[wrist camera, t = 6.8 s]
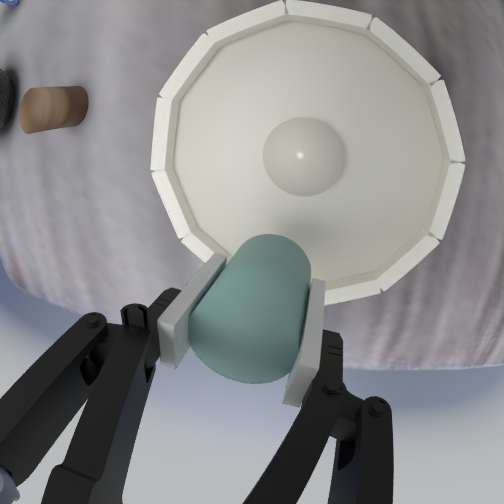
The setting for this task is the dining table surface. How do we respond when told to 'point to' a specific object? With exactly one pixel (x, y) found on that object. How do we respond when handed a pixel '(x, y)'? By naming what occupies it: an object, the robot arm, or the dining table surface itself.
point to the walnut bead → (52, 108)
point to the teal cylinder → (254, 312)
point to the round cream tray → (309, 144)
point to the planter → (5, 98)
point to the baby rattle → (14, 3)
